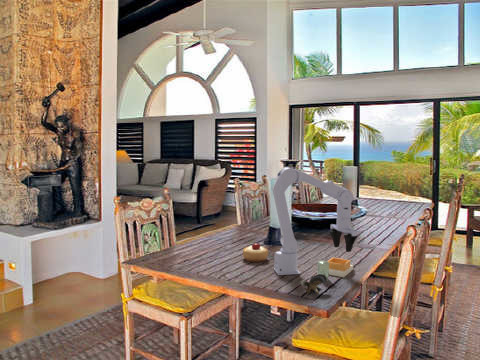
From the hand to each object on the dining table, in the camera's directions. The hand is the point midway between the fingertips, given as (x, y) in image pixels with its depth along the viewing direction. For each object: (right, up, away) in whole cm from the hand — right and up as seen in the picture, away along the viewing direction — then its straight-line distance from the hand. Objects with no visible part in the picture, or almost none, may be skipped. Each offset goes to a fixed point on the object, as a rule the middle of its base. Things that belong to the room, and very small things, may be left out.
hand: (342, 249), depth 170 cm
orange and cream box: (-2, -10, +1) cm, 10 cm away
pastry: (-36, -8, +18) cm, 41 cm away
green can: (-10, -11, -8) cm, 17 cm away
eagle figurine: (-16, -12, -22) cm, 30 cm away
